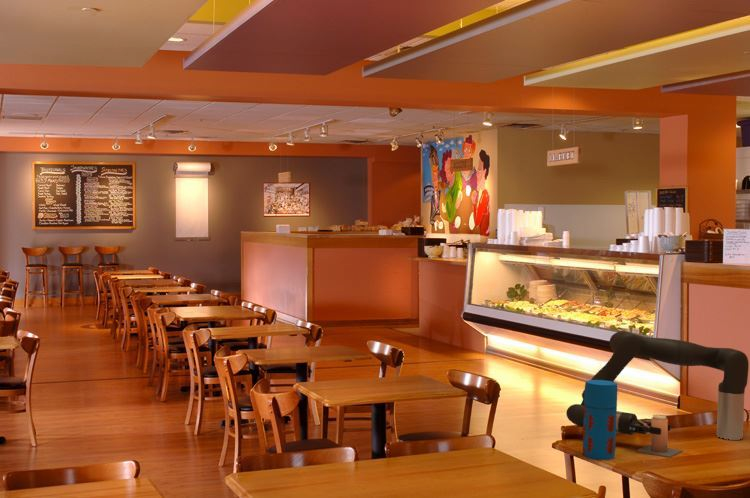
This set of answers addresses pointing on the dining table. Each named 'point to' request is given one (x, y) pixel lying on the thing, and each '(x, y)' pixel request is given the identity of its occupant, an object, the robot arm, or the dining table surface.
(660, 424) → the terracotta shaker
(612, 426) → the thermos
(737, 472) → the dining table surface
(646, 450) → the charcoal mat
